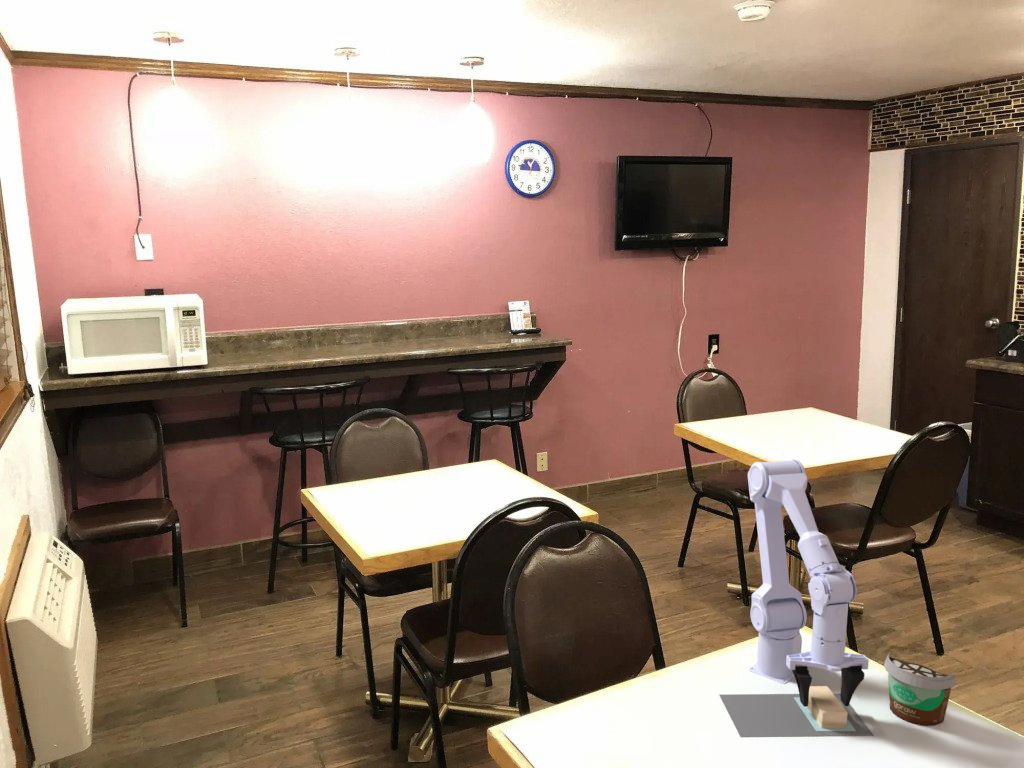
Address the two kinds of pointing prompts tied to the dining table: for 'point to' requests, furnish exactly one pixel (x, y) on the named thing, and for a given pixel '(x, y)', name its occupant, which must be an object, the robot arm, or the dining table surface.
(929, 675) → the food container
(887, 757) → the dining table surface
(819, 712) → the tan wooden block
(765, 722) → the mat
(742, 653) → the dining table surface
